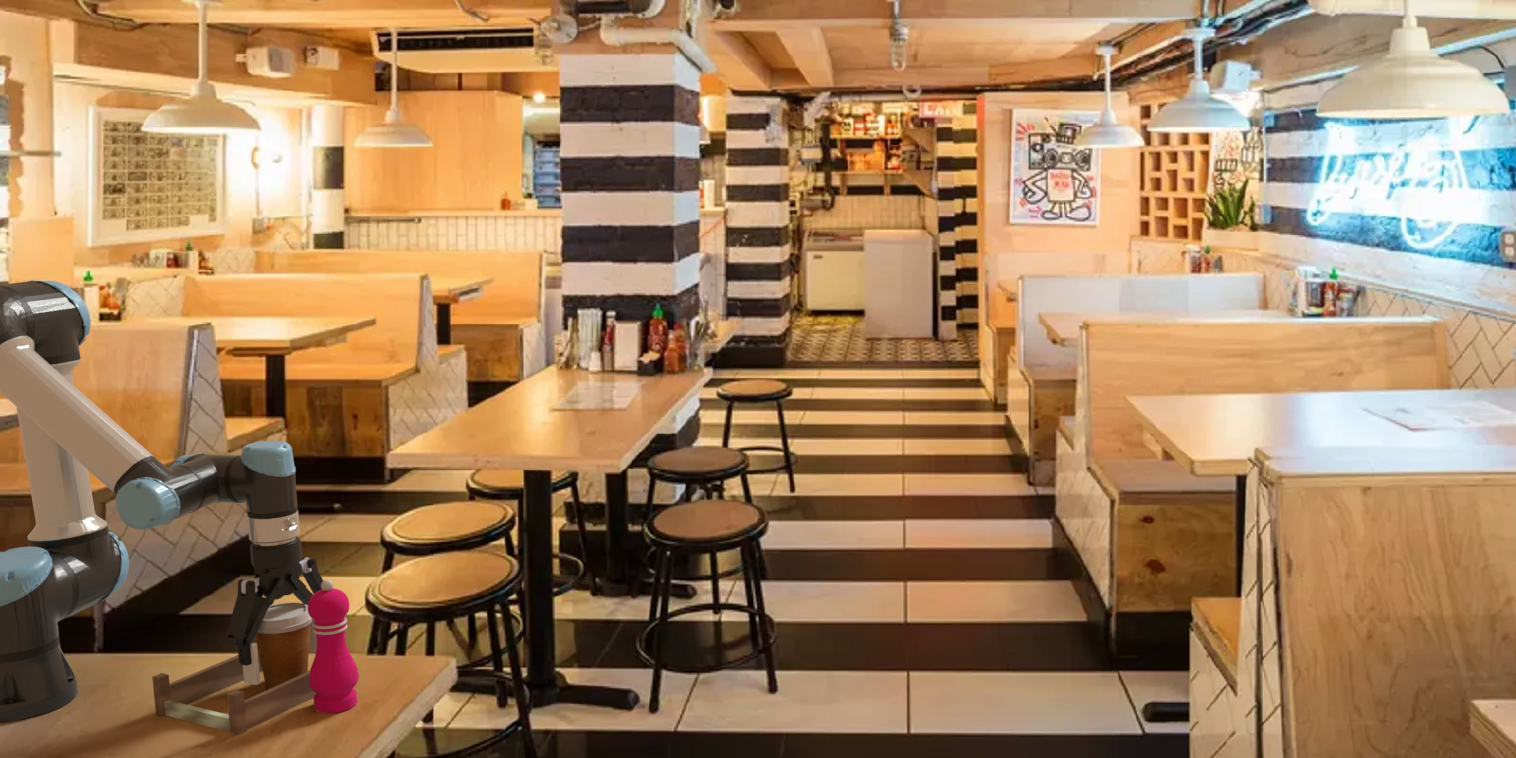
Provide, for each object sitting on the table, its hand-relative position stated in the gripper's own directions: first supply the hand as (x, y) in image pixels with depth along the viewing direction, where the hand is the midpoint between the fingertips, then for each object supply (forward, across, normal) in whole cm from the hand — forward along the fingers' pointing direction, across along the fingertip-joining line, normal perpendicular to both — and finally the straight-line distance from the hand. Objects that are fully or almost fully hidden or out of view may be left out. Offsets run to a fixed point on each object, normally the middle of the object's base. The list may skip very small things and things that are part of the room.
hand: (286, 667), depth 202 cm
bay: (+2, -7, 0) cm, 7 cm away
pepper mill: (+3, -3, -14) cm, 14 cm away
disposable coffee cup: (+3, 0, 0) cm, 3 cm away
